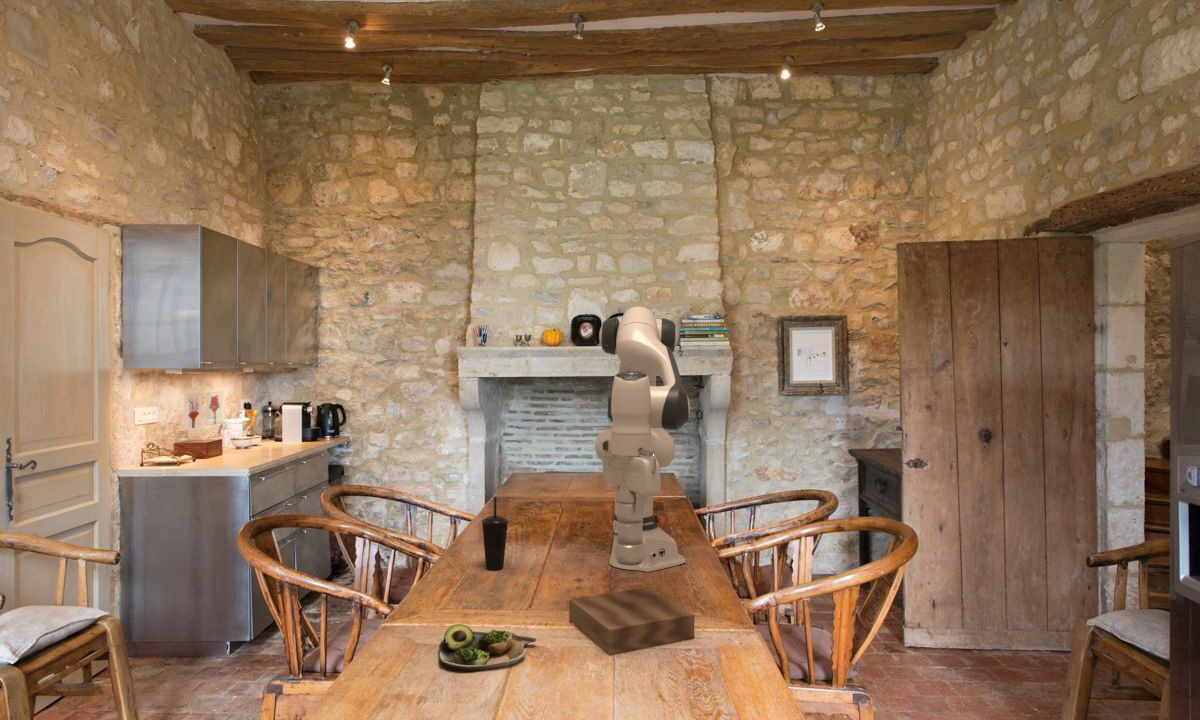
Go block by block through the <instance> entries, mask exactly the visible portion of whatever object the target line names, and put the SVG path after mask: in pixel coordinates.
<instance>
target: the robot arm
mask: <svg viewBox="0 0 1200 720" xmlns="http://www.w3.org/2000/svg"><path fill="white" fill-rule="evenodd" d="M598 339H599V345H600V346H601V349H602V350H603V352H604V353H606V354H609V355H613V356H615V355H617V357H618V359H619V361H620V362H619V368H618V373H616V374H615V375H614V377H613V382H612V391H611V393H609V394H608V395H607V417H606V418H608V419H609V420H610V421H611V422H612V426H611V428H606V429H603V430H601V431H600V432H599V433H598V435H597V436H596V439H595V443H594V449H595V453H596V454H595V455H596V456H597V457H598V459H599V460H600V461H602V475H603V480H604V482H605V483H607V484H610V485H613V491H614V513H613V519H612V522H613V525H612V528H613V529H612V530H613V542H612V549H611V554H610V556H609V560H608V563H609V565H611V566H612V567H614V568H618V569H623V570H630V571H632V570H633V571H640V572H641V571H642V572H647V573H649V572H655V571H657V570H662V569H666V568H668V569H669V568H673V567H675V566H680V564H681V565H684V564H683V563H685V564H686V563H687V562H686V561H687V560H686V558H685V556H683V555H681V554H680V553H679V552H678V545H677V542H676V540H675V538H673V537H672V536H671V535H670V534H668V533H667V532H665V530H663V529H662V528H661V527H660V526H659V524H661V525H664V524H665V522H666V518H665V517H664V516H661V515H656V514H654V496H659V495H660V493H661V489H662V486H661V485H662V483H661V482H662V481H661V468H662V469H663V468H666V467H669V466H670V464H671V463H672V462H673V460H674V459H675V455H676V444H675V441H674V439H673V437H672V436H671V435H670V434H669V433H668V432H667V431H666V430H670V431H671V430H672V431H673V430H674V431H677V430H679V429H680V428H682V427H683V426H684V425H686V424H687V422H688V421H689V419H690V415H691V414H690V413H691V404H690V399H689V395H688V394H687V391H686V389H685V387H684V384H683V381H682V378H681V375H680V371H679V368H678V365H677V362H676V359H675V356H674V352H675V349H676V347H677V346H678V343H679V342H678V341H679V333H678V329H677V326H676V324H675V322H674V321H673V320H671V319H667V318H663V317H662V318H656V316H655V315H654V312H653V311H651V310H650V309H649V308H647V307H644V306H640V305H639V306H633V307H631V308H628V309H627V310H626V311H625V312H624V313H623V315H622V317H619V318H618V317H617V316H614V317H610V318H606V319H605V320H604V321H603V322H602V324H601V327H600V329H599V332H598ZM657 376H658V377H660V378H661V380H662V383H663V385H661V386H659V385H657ZM622 473H625V482H624V481H622ZM621 485H624V486H625V487H626V488H627V489H628V490H630V491H633V492H635V493H636V498H637V500H636V504H634V512H635V513H637V514H642V513H643V521H642V523H643V527H642V528H643V543H644V547H645V556H644V560H643V562H642V563H641V564H638V565H622V564H619V563H618V562H617V561H616V559H615V554H614V551H615V545H616V542H617V541H616V540H617V530H618V519H617V507H616V493H617V491H618V490H619V488H620V487H621ZM644 505H645V507H644Z"/></svg>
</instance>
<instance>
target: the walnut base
mask: <svg viewBox="0 0 1200 720" xmlns="http://www.w3.org/2000/svg"><path fill="white" fill-rule="evenodd" d="M568 602H569V611H568V612H569V614H568V615H569V618H568V622H569V621H570V622H569V623H571V624H572V623H573V624H574V625H575V626H576V627H577V628H576V629H577V630H579V631H580V632H581V633H582V634H584V635H585V636H586V637H587V638H588V639H589V640H591V641H592V642H593V643H594V644H596V645H597V646H598V648H600V649H601V650H602V651H603V652H605V653H606V654H607V655H608V656H613V655H617V654H619V655H620V654H622V653H627V652H634V651H639V650H643V649H649V648H652V647H653V648H654V647H658V646H663V645H668V644H669V645H670V644H674V643H679V642H683V641H689V640H694V639H695V613H693V612H691V611H689V610H687V609H685V608H683V606H680V605H678V604H676V603H675V602H674V601H672V600H670V599H669V598H667V597H665V596H663V595H661V594H660V593H658V592H656V591H655V590H653V589H651V588H649V587H648V586H645V587H640V588H633V589H627V590H620V591H613V592H605V593H600V594H594V595H588V596H581V597H574V598H569V601H568ZM573 624H572V625H573ZM574 625H573V626H574ZM575 626H574V627H575Z"/></svg>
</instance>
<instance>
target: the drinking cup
mask: <svg viewBox="0 0 1200 720" xmlns="http://www.w3.org/2000/svg"><path fill="white" fill-rule="evenodd" d="M509 522H510V519H509V518H507V517H505V516H503V515H498V514H497V496H494V497H493V515H489V516H487V517H485V518H482V519H481V524H482V535H483V546H484V547H483V548H484V549H483V551H484V559H485V560H484V561H485V569H486V571H489V570H490V571H489V572H499V571H502V570H503V569H504V564H505V556H506V554H505V553H506V544H507V535H508V534H507V533H508V523H509Z"/></svg>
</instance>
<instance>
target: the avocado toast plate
mask: <svg viewBox="0 0 1200 720" xmlns="http://www.w3.org/2000/svg"><path fill="white" fill-rule="evenodd" d="M536 641H537V638H536V637H531V636H530V637H529V636H522V635H518V634H517V633H514V632H510V631H507V630H497V629H492V630H491V631H482V632H481V631H474V630H472V628H470V627H469V626H467V625H465V624H460V623H459V624H458V623H457V624H453V625H451V626H449V627H448V629H447V630H446V631H445V632H444V636H443V639H442V640H441V641H440V643H439V645H438V654H439V656H438V661H439V664H440V665H441V666H442V667H443V668H445V669H447V670H449V671H453V672H459V673H462V672H464V673H465V672H477V671H485V670H493V669H498V668H504V667H507V666H512V665H514V664H516V663H518V662H519V661H521V660H523V659H524V657H525V656H526V651H525V650H526V649H525V648H524V647H525V645H528V644H530V643H531V644H532V643H535V642H536ZM502 656H507V657H508V658H509V659H507V660H504V661H502V662H501V661H500V662H497V663H496V662H495V663H492V664H490V663H489V664H487V662H488V661H489V660H490V659H493V658H495V657H502Z"/></svg>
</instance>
